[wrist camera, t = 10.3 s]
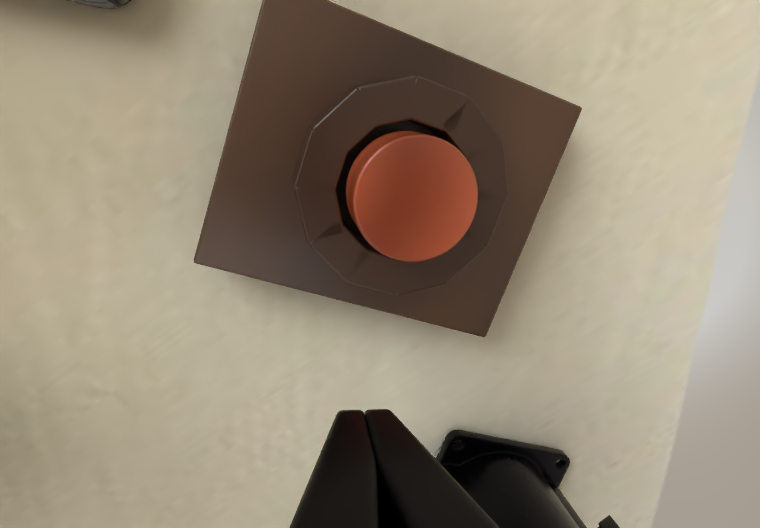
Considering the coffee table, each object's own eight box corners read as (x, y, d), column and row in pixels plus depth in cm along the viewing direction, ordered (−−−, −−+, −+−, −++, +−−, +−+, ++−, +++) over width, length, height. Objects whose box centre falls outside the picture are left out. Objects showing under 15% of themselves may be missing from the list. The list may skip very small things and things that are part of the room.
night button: (475, 153, 16) (498, 159, 14) (434, 259, 17) (451, 276, 15) (367, 113, 15) (378, 115, 13) (330, 228, 16) (336, 243, 14)
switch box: (551, 106, 20) (615, 108, 16) (466, 315, 22) (505, 360, 18) (269, -10, 17) (268, -41, 13) (201, 245, 19) (183, 281, 15)
